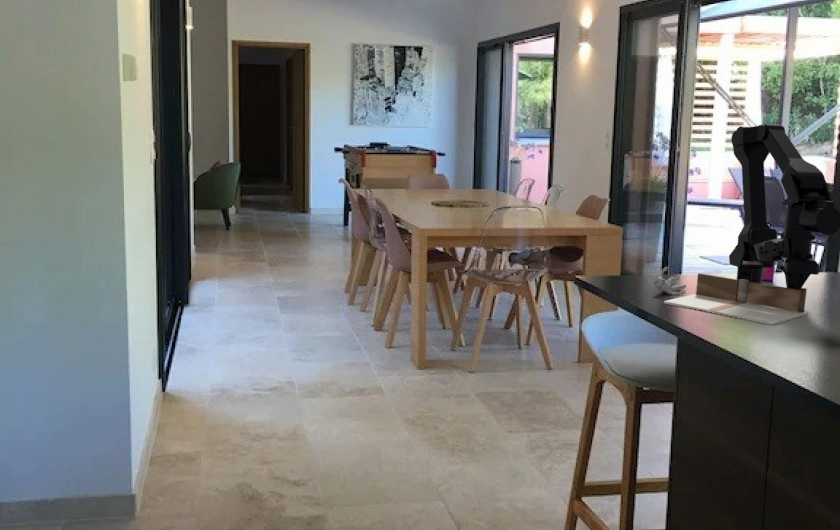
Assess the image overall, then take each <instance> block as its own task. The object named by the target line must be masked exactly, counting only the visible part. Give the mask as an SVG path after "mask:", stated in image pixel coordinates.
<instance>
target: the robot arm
mask: <svg viewBox="0 0 840 530" xmlns="http://www.w3.org/2000/svg"><path fill="white" fill-rule="evenodd" d="M785 129H786V128H785V126H784V125H782V124H779V123H763V124H759V125H755V126H739V127H737V129H736V130H735V131H734V132H732V135H731V144H732V150H733V155H734V157H735V159H736V160H737V161H738V162H739V164H740V165H741V178H742V179H741V180H742V197H743V199H742V200H743V219H744V221H743V222H744V225H743V227H742V228H741V230H740V233H739V234H738V237H737V243H736V246H735V247H734V248H733V250H732V252H731V253H730V254H729V256H728V258H729V259H728V261H729V265H731V266H733V267H737V270H736V271H737V272H736V279H737V280H739V279H745V280H749V282H755V283H761V284H763V282H762V278H763V269H764V267H765V268H772V267H773V264H774V261H775V262H778V261H781V264H777V267H778V268H779V269H780V270H781V271H782V272H783V274H784V277H785V285H786V287H785V288H791V289H797V290H800V289H801V288H804V287H803V286H804V285H805V283H806V282H807V280H808V279H809V277H810V276H811V275H817V276H818V275H819V274H820V273H819V272H820V266H821V265H820V264H819V263H818V262H817V260H815V259H814V257H813V256H814V254H812V248H813V247H812V246H813V241H815V239H816V235H815V234H814V233H816V234H817V233H818V234H821V235H826V236H830V235H834V234H835V233H837V232H838V231H839V230H840V211H839V209H837V208H835V205H836V202H835V201H832V194H831V192H830V190H829V187H828V185H827V181H826V177H825V175H824V174H823V172H822V171H821V170H820V169H819V168H818V166H816V165H815V164H812V163H810V162H808V161H806V160H805V159H804V158H803V157H802V155H801V154H800V153H799V151H798V149H797V148H796V147H795V145H794V144H793V142H792V141H791V139H790V137H789V136H788V135H787V134H786V130H785ZM769 155H771V158H773V161H775V163H776V165H777V166H778V168H779V169H780V172H781V173H782V175H781V180H780V183H781V185H782V187H783V189H784V192H785V194H786V195H787V196H788V197H787V198H785V199H784V200H783V202H782V205H783V206H786V215H785V223H784V230H782V231H781V232H780V237H779V238H778V231H777V230H776V229H775V228H771V227H770V224H768V218H767V217H768V215H767V214H768V213H767V199H766V198H767V196H766V179H765V178H766V177H765V161H766V159H767V158H768V156H769ZM747 261H757V262H747ZM748 286H749V285H748Z"/></svg>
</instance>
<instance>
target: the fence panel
mask: <svg viewBox="0 0 840 530" xmlns="http://www.w3.org/2000/svg"><path fill="white" fill-rule="evenodd" d="M748 285H749V286H748V295H747V303H753V304H758V305H764V306H769V307H774V308H780V309H785V310H791V311H796V312H800V313H804V311H805V308H806V299H807V298H806V297H807V290H808V288H806V287H805V288H804V287H802V288H801V289H800V290H797V289H791V288H787V287H784V286H778V285H772V284H767V283H762V284H761V283H755V282H749V284H748Z"/></svg>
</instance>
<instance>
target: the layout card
mask: <svg viewBox="0 0 840 530" xmlns="http://www.w3.org/2000/svg"><path fill="white" fill-rule="evenodd" d="M663 304H665V305H670V306H673V307H675V306H676V307H680V308H686V309H689V308H691V309H690V310H694V309H696V310H695V311H699V310H702V311H701V312H704V311H707V312H706V313H710V312H712V313H711V314H715V313H717V314H716V315H720V314H722V315H721V316H725V315H727V316H726V317H730V316H732V317H731V318H735V317H737V318H736V319H740V318H742V319H741V320H745V319H746V320H745V321H750V320H751V321H750V322H755V323H760V324H765V325H771V326H773V325H776V324H779V323H782V322H783V323H784V322H786V321H789V320H791V319H795V318H798V317H801V316H805V315H807V313H808V311H805V310H804V313H800V312H796V311H791V310H785V309H780V308H774V307H769V306H764V305H758V304H753V303H739V302H737V301H732V300H726V299H721V298H716V297H710V296H705V295H699V294H696V293H693V294H688V295H685V296H680V297H675V298H673V299H667V300H664V301H663Z"/></svg>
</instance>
